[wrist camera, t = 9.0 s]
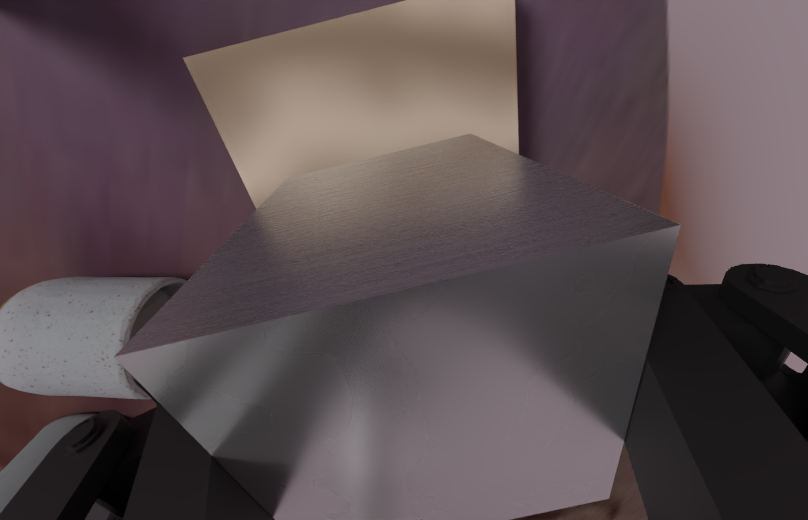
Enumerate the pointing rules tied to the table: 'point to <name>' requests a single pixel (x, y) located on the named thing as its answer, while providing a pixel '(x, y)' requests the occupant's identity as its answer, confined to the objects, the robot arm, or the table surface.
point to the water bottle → (22, 466)
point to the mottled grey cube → (416, 338)
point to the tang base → (363, 87)
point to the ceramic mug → (77, 334)
